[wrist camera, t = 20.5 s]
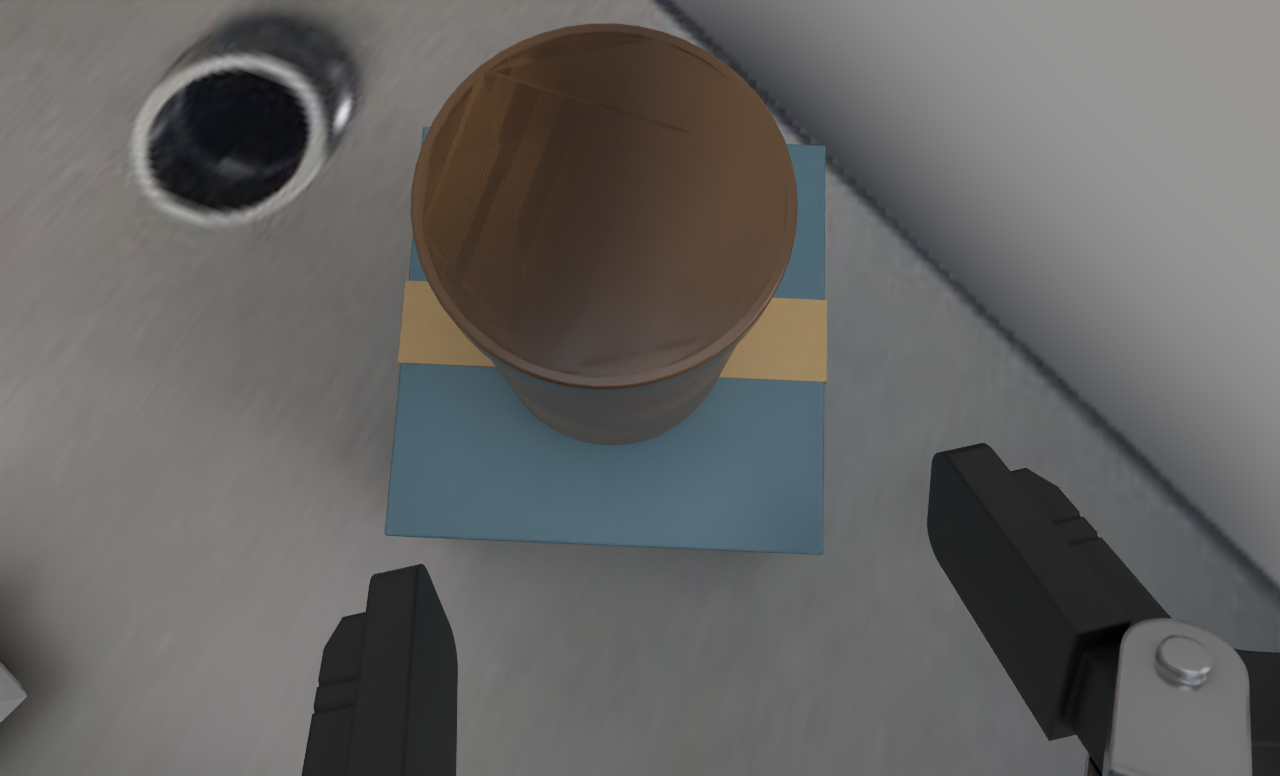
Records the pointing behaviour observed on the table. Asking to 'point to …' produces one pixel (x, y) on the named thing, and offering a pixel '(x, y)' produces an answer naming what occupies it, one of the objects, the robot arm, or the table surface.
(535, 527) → the cardboard box
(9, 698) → the stamp
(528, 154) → the brown lidded canister
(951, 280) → the table surface
